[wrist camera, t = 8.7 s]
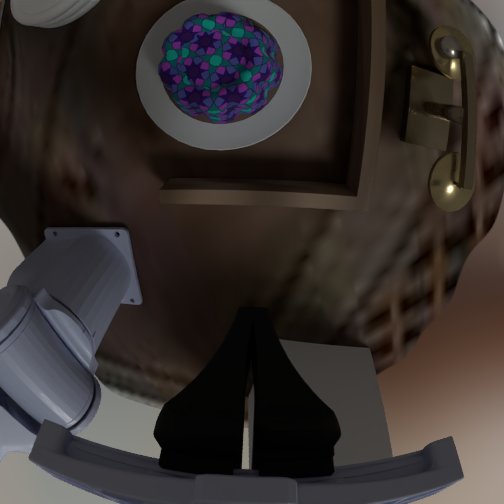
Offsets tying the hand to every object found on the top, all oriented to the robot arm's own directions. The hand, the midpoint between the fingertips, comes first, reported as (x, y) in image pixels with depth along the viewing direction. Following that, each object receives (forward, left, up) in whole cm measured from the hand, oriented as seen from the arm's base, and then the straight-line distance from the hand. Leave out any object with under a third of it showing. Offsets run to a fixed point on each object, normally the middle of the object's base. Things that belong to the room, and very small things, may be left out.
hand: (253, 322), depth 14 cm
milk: (+7, -19, -11) cm, 23 cm away
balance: (+13, +11, -10) cm, 20 cm away
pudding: (-3, +12, -11) cm, 17 cm away
